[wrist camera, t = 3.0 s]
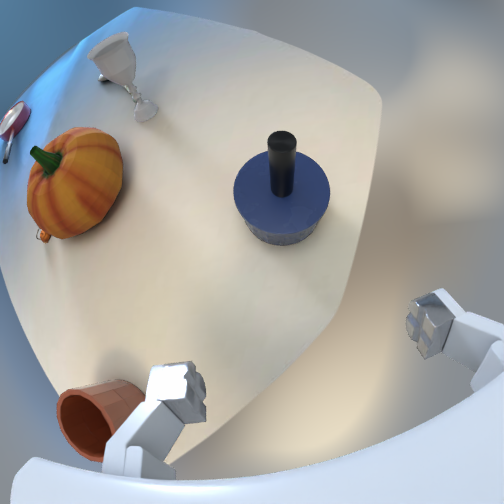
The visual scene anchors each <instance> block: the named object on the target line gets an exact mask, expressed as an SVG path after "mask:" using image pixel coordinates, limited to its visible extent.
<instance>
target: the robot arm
mask: <svg viewBox="0 0 504 504" xmlns="http://www.w3.org/2000/svg"><path fill="white" fill-rule="evenodd" d="M408 309H409V311H410V313H409V315H408V316H407V317H406V330H407V332H408V335H409V336H410V338H411V339H412V340H413V341H416V342H417V349H418V350H419V352H420V353H421V355H422V356H423V358H424V359H427V358H429V357H432V356H434V355H436V354H438V353H440V352H442V353H443V354H445V355H446V356H448V357H450V358H451V359H453V360H455V361H457V362H459V363H460V364H462V365H464V366H465V367H467V368H469V369H470V370H472V371H474V372H475V373H476V374H475V375H474V377H473V379H472V380H471V383H470V386H471V387H472V389H473V391H474V394H472V395H471V396H469V397H468V398H466V399H464V400H463V401H462V402H460V403H458V404H457V405H455V406H453V407H452V408H450V409H448V410H446V411H445V412H443V413H441V414H439V415H438V416H436V417H434V418H432V419H430V420H428V421H427V422H424V423H423V424H421V425H419V426H417V427H415V428H412V429H410V430H408V431H406V432H404V433H402V434H400V435H397V436H395V437H393V438H391V439H388V440H386V441H383V442H381V443H378V444H376V445H373V446H371V447H368V448H365V449H362V450H360V451H356V452H354V453H351V454H348V455H344V456H341V457H338V458H335V459H331V460H328V461H324V462H320V463H317V464H313V465H309V466H304V467H300V468H295V469H291V470H286V471H280V472H275V473H269V474H263V475H255V476H248V477H239V478H229V479H214V480H176V470H175V469H174V468H173V467H171V466H170V465H168V464H166V463H165V462H163V461H164V460H165V458H166V456H167V455H168V453H169V451H170V450H171V448H172V446H173V445H174V443H175V441H176V440H177V438H178V436H179V435H180V433H181V431H182V430H183V428H184V426H185V425H184V424H190V423H199V422H206V406H205V405H204V403H203V400H204V399H205V397H206V387H205V382H204V380H203V377H202V376H201V374H200V373H198V372H196V366H195V365H194V363H193V362H192V361H187V362H179V363H171V364H163V365H154V366H152V368H151V370H150V375H149V380H148V386H147V391H146V397H145V402H141V403H140V404H139V405H138V407H137V408H136V409H135V410H134V411H133V412H132V414H131V415H130V416H129V417H128V418H127V420H126V421H125V422H124V423H123V424H122V425H121V427H120V428H119V429H118V430H117V431H116V432H115V434H114V435H113V436H112V437H111V438H110V439H109V441H108V442H107V443H106V448H105V453H104V459H103V465H102V472H101V473H99V472H93V471H88V470H84V469H79V468H75V467H71V466H67V465H63V464H59V463H56V462H52V461H49V460H46V459H42V458H38V457H34V458H31V459H30V460H29V461H28V462H27V463H26V464H25V465H24V466H23V467H22V468H21V469H20V470H19V471H18V473H17V474H16V475H15V478H14V481H13V485H12V491H11V500H10V504H504V324H501V323H499V322H496V321H493V320H491V319H488V318H485V317H483V316H480V315H477V314H474V313H472V312H469V311H468V312H465V311H464V310H463V309H462V308H461V307H460V305H459V304H458V303H457V302H456V301H455V300H454V299H453V298H452V297H451V296H450V295H449V294H448V293H447V292H446V290H444V289H442V288H440V289H438V290H436V291H433V292H431V293H428V294H426V295H423V296H421V297H419V298H416V299H414V300H411V301H410V303H409V306H408Z"/></svg>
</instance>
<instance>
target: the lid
mask: <svg viewBox="0 0 504 504" xmlns="http://www.w3.org/2000/svg"><path fill="white" fill-rule="evenodd" d="M267 143H268V151H266V152H263V153H260V154H258V155H256V156H254V157H253V158H251V159H250V160H249V161H248V162H247V163H245V164H244V166H243V167H242V168H241V169H240V171H239V173H238V175H237V177H236V179H235V183H234V190H233V194H234V200H235V204H236V207H237V209H238V211H239V213H240V214H241V216H242V217H243V218H244V219H245V221H246V222H248V223H249V224H250V225H251V226H253V227H254V228H256V229H257V230H260V231H262V232H264V233H267V234H272V235H279V236H287V235H294V234H298V233H301V232H303V231H305V230H307V229H309V228H311V227H312V226H313V225H315V224H316V223H317V222H318V221H319V220H320V219H321V218H322V216H323V215H324V213H325V211H326V209H327V206H328V203H329V199H330V187H329V182H328V179H327V177H326V175H325V173H324V171H323V170H322V168H321V167H320V166H319V165H318V164H317V163H316V162H315V161H314V160H312V159H311V158H310V157H308V156H306V155H304V154H302V153H299V152H296V144H297V141H296V138H295V137H294V135H292V134H291V133H289V132H287V131H277V132H274V133H272V134H271V135H270V136H269V138H268V141H267Z"/></svg>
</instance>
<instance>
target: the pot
mask: <svg viewBox="0 0 504 504" xmlns="http://www.w3.org/2000/svg"><path fill="white" fill-rule="evenodd" d="M141 402H145V395H144V394H143V393H142V392H141V390H139V389H138V388H137V387H136V386H135V385H133V384H131V383H130V382H127V381H124V380H118V379H116V380H108V381H104V382H100V383H95V384H91V385H86V386H82V387H77V388H72V389H68V390H67V391H65V392H64V393H62V394H61V395H60V398H59V400H58V403H57V419H58V422H59V426H60V429H61V431H62V433H63V435H64V436H65V438H66V440H67V441H68V443H69V444H70V445H71V446H72V447H73V448H74V449H75V450H76V451H77V452H78V453H79V454H80V455H82V456H84V457H85V458H87V459H89V460H90V461H96V462H101V463H103V459H104V453H105V448H106V443H107V442H108V441H109V439H110V438H111V437H112V436H113V435H114V434H115V432H116V431H117V430H118V429H119V428H120V427H121V425H122V424H123V423H124V422H125V421H126V420H127V418H128V417H129V416H130V415H131V414H132V412H133V411H134V410H135V409H136V408H137V407H138V405H139V404H140V403H141Z"/></svg>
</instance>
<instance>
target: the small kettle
mask: <svg viewBox="0 0 504 504" xmlns="http://www.w3.org/2000/svg"><path fill="white" fill-rule="evenodd" d="M39 229H40V228H39ZM38 231H39V230H38ZM37 234H38V232H37ZM50 236H51V235H50V234H48V233H46V232H44V231H43V230H42V231H41V233H40V238H41V240H42V241H43V242H44V243H45V244H46V243H48V240H49V238H50ZM36 237H37V235H36ZM37 239H38V238H37Z"/></svg>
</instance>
